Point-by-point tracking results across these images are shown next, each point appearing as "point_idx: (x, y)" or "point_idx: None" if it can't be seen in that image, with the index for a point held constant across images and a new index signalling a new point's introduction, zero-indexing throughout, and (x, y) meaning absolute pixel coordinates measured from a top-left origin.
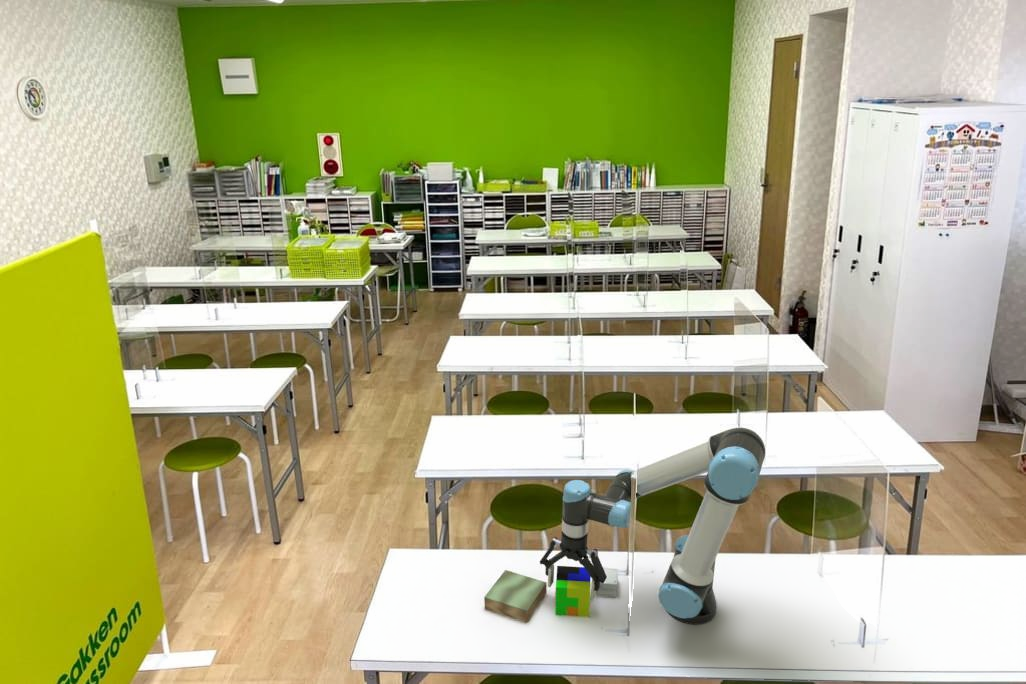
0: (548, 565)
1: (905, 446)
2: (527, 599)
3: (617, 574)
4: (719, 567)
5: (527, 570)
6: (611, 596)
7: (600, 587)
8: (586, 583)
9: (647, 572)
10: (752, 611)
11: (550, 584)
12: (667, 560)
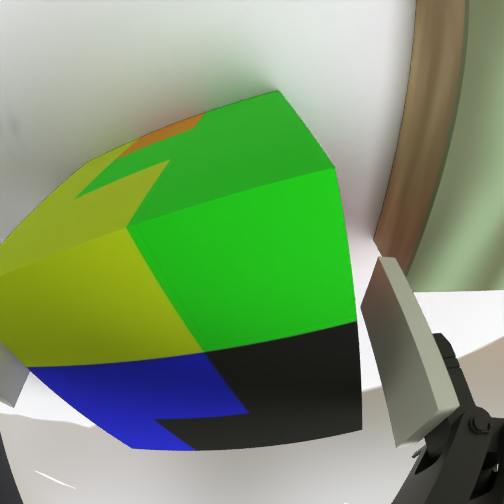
0: (468, 440)
1: (56, 481)
2: (499, 96)
3: None
4: (14, 407)
5: (450, 325)
6: None
7: None
8: (29, 350)
9: None
10: None
11: (382, 276)
12: (82, 422)
